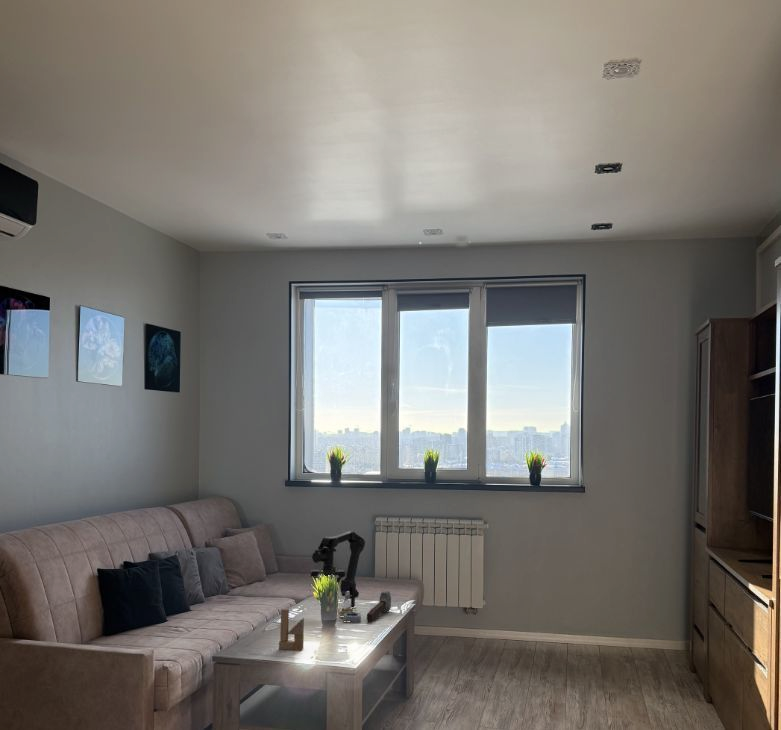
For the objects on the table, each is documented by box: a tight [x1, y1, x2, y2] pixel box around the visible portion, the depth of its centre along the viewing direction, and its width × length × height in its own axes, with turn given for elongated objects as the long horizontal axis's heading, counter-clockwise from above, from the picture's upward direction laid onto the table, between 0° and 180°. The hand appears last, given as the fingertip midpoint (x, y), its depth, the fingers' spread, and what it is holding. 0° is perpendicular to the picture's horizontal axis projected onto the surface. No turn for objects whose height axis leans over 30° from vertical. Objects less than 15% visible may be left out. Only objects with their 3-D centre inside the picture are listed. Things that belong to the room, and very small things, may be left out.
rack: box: [339, 608, 356, 617], centre depth 432 cm, size 8×8×3 cm
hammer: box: [366, 590, 392, 623], centre depth 432 cm, size 5×11×30 cm
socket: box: [343, 612, 362, 623], centre depth 422 cm, size 9×9×3 cm
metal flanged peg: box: [343, 591, 351, 612], centre depth 432 cm, size 4×4×13 cm
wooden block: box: [278, 607, 305, 652], centre depth 366 cm, size 4×11×18 cm, turn 80°
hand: (327, 589), depth 438 cm, fingers open, 9 cm apart
